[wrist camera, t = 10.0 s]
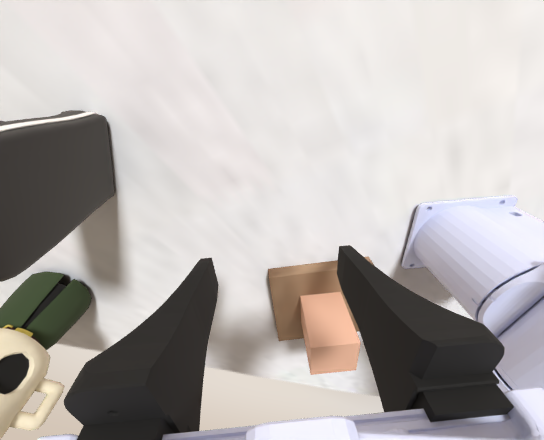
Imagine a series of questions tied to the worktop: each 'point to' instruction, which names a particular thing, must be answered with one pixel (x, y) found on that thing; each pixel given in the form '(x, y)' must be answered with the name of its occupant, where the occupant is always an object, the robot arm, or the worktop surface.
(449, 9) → the worktop surface
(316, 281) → the walnut board
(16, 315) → the character mug
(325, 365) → the terracotta block
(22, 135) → the battery charger
